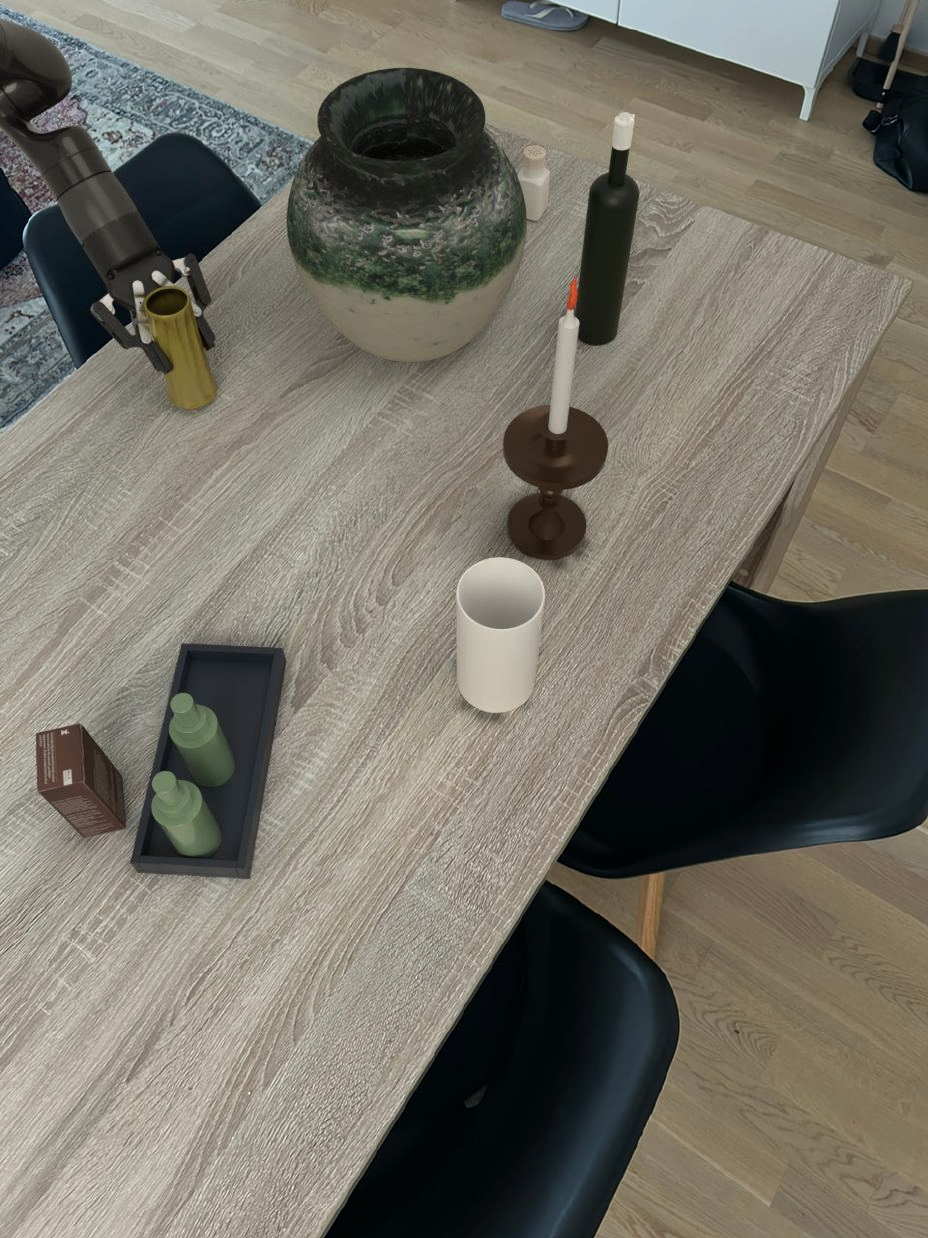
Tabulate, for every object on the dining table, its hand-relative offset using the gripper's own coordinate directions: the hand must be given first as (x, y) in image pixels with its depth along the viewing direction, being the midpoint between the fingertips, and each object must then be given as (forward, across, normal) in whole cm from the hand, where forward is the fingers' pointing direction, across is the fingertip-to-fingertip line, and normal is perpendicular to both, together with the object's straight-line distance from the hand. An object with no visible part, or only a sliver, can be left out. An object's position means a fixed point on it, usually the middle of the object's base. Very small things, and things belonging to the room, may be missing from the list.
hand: (189, 359), depth 123 cm
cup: (+43, -1, +32) cm, 53 cm away
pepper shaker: (+5, -57, -5) cm, 57 cm away
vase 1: (+4, 0, -6) cm, 7 cm away
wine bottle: (+22, -46, +11) cm, 52 cm away
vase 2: (+10, -28, 0) cm, 30 cm away
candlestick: (+35, -19, +24) cm, 47 cm away
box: (+32, +38, +21) cm, 54 cm away
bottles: (+36, +30, +27) cm, 54 cm away
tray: (+35, +26, +24) cm, 49 cm away
